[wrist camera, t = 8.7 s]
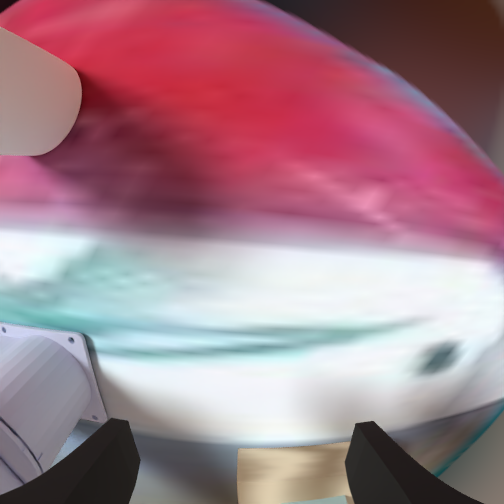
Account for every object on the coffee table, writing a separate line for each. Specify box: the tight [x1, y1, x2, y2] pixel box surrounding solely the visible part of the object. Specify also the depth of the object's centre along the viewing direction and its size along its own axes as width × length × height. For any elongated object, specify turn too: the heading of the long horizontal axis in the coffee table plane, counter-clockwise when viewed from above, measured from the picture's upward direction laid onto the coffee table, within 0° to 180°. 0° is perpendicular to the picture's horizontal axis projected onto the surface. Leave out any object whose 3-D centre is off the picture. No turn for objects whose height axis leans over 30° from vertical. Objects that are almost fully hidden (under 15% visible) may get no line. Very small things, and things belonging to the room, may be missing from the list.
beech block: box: [237, 441, 354, 504], centre depth 21 cm, size 12×12×4 cm
